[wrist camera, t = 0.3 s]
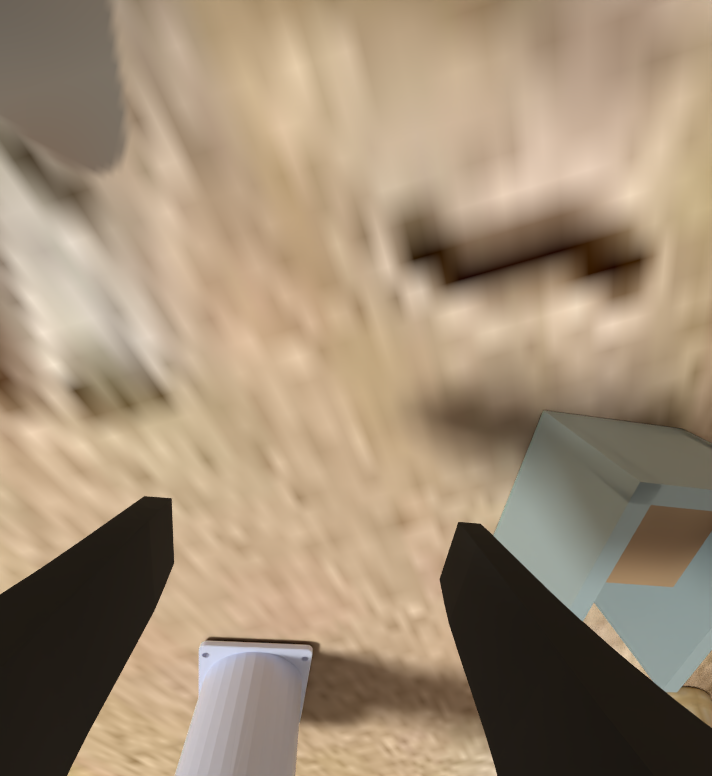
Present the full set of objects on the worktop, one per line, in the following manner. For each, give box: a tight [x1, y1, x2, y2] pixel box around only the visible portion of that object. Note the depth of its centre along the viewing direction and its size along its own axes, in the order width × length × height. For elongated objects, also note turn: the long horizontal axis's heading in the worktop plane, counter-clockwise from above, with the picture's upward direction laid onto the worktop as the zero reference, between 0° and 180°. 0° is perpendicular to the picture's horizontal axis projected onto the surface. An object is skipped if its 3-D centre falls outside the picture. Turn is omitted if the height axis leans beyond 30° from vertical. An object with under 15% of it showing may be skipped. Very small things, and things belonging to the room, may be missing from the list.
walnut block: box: [606, 505, 712, 587], centre depth 21 cm, size 18×5×5 cm, turn 171°
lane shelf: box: [493, 410, 712, 692], centre depth 19 cm, size 13×9×6 cm
